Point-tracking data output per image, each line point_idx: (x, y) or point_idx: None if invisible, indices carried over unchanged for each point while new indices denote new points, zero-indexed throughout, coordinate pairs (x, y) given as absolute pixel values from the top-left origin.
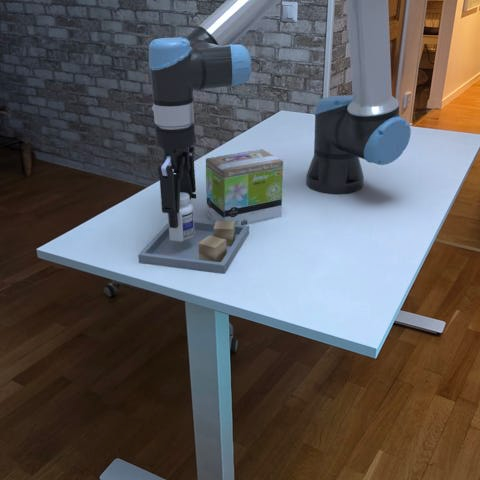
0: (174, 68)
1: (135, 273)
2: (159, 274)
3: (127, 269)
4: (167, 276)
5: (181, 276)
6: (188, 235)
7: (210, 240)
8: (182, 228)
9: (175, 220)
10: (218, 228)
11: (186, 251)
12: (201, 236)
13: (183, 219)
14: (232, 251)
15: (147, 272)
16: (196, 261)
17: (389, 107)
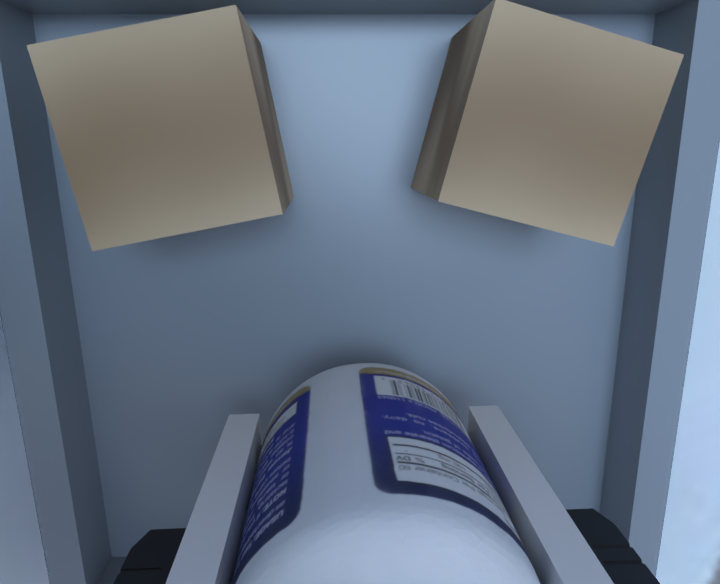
0: None
1: (701, 524)
2: (699, 402)
3: (664, 578)
4: (717, 350)
5: (709, 270)
6: (432, 391)
7: (542, 153)
8: (503, 464)
9: (651, 575)
10: (265, 165)
11: (429, 355)
12: (180, 340)
13: (505, 514)
14: None
15: (684, 471)
16: (704, 200)
17: None
